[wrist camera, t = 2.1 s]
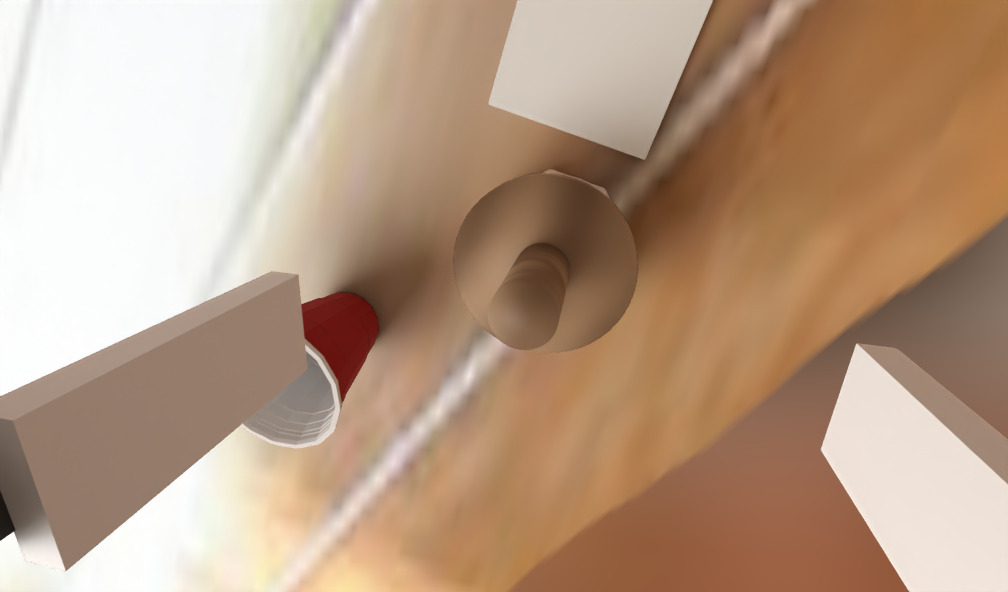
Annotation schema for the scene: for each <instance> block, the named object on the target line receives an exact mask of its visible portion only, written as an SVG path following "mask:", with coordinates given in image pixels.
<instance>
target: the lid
mask: <svg viewBox="0 0 1008 592" xmlns="http://www.w3.org/2000/svg"><path fill="white" fill-rule="evenodd" d="M453 264H454V275H455V280H456V284H457V288H458V291H459V294H460V296H461V298H462V300H463V302H464V304H465V306H466V307H467V309H468V311H469V312H470V314H471V315H472V316H473V317H474V319H475V320H476V321H477V322H478V323H479V324H480V325H481V326H482V327H483V328H484V329H485V330H486V331H488V332H489V333H490V334H492V335H493V336H494V337H496V338H498V339H499V340H500V341H501V342H503V343H504V344H506V345H507V346H510V347H512V348H515V349H519V350H526V351H531V352H538V353H560V352H566V351H571V350H574V349H578V348H581V347H583V346H586V345H588V344H590V343H592V342H594V341H595V340H597V339H599V338H601V337H602V336H603V335H604V334H606V333H607V332H608V331H610V330H611V329H612V327H613V326H614V325H615V324H616V323H617V322H618V321H619V320H620V318H621V317H622V316H623V314H624V313H625V311H626V310H627V308H628V306H629V304H630V302H631V299H632V297H633V294H634V291H635V287H636V283H637V275H638V258H637V252H636V247H635V242H634V238H633V235H632V232H631V229H630V227H629V225H628V223H627V221H626V219H625V217H624V216H623V215H622V213H621V212H620V210H619V209H618V207H617V206H616V205H615V204H614V203H613V202H612V201H611V200H610V199H609V198H608V197H607V196H606V195H604V194H603V193H602V192H601V191H599V190H598V189H596V188H595V187H593V186H591V185H590V184H588V183H586V182H583V181H581V180H579V179H576V178H573V177H569V176H566V175H560V174H553V173H538V174H530V175H525V176H521V177H517V178H514V179H512V180H510V181H507V182H505V183H503V184H501V185H500V186H498V187H496V188H495V189H493V190H492V191H490V192H489V193H488V194H487V195H485V196H484V197H483V198H481V199H480V200H479V202H478V203H477V204H476V205H475V206H474V207H473V208H472V209H471V211H470V212H469V213H468V215H467V216H466V218H465V220H464V222H463V223H462V225H461V227H460V230H459V233H458V235H457V238H456V243H455V248H454V258H453Z"/></svg>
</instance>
